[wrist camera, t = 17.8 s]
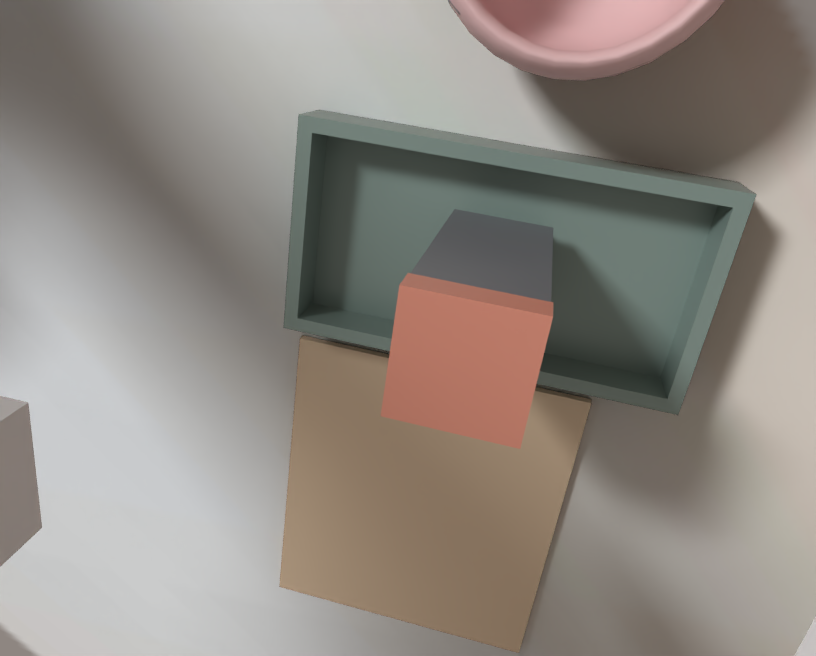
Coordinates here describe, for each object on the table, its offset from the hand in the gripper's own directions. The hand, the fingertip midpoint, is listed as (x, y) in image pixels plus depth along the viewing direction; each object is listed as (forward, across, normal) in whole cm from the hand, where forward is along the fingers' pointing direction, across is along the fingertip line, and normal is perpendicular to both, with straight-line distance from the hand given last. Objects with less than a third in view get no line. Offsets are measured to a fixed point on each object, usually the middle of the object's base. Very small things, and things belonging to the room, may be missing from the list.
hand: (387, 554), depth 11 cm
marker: (+19, 0, 0) cm, 19 cm away
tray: (+20, 0, 0) cm, 20 cm away
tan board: (+20, -1, -14) cm, 24 cm away
